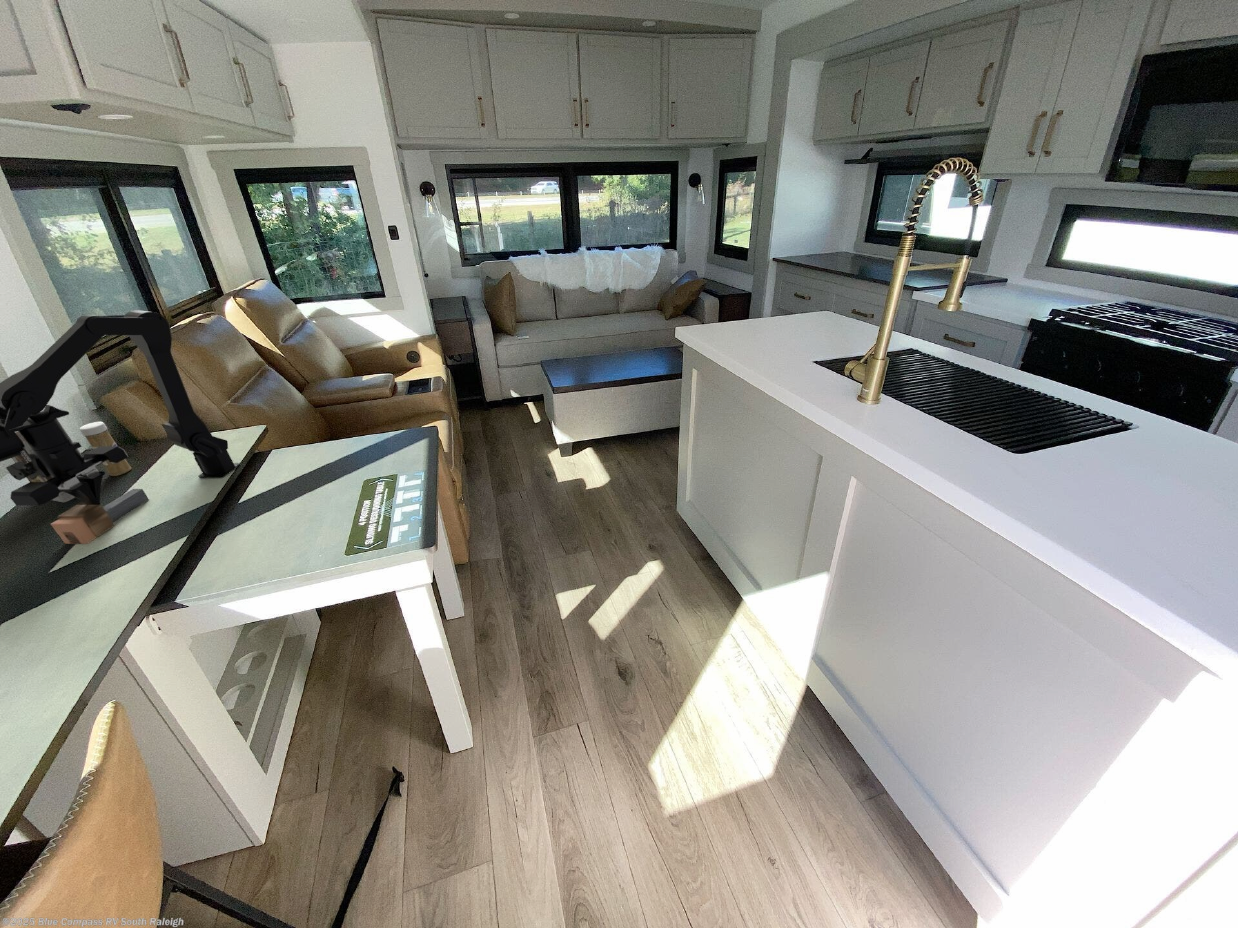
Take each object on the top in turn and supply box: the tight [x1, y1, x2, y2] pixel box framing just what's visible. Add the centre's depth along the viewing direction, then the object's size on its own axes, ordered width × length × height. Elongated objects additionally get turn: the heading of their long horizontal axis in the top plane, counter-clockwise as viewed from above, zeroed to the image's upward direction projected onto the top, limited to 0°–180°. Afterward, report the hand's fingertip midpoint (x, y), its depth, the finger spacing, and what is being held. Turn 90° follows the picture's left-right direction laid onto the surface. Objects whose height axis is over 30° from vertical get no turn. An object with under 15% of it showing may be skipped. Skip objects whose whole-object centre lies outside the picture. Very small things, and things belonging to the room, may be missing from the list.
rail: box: [62, 488, 150, 545], centre depth 112 cm, size 16×2×3 cm, turn 175°
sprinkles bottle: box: [79, 421, 132, 477], centre depth 129 cm, size 5×5×13 cm
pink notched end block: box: [50, 518, 97, 545], centre depth 106 cm, size 2×5×5 cm, turn 85°
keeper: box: [57, 504, 116, 538], centre depth 108 cm, size 4×6×5 cm
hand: (96, 507), depth 110 cm, fingers closed
